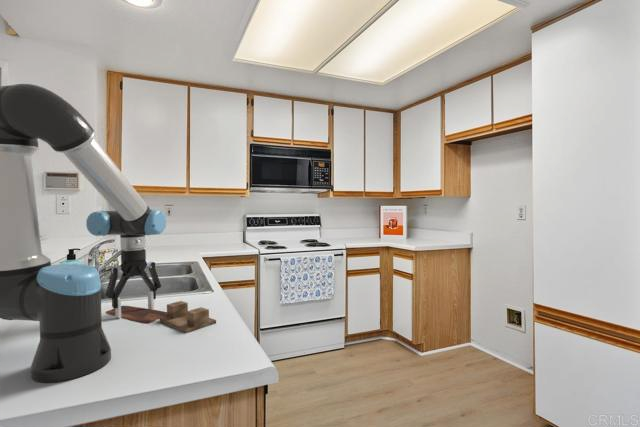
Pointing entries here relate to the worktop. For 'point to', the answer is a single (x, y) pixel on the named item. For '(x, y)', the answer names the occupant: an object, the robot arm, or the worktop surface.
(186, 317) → the walnut stand
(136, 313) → the wooden tablet
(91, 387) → the worktop surface
